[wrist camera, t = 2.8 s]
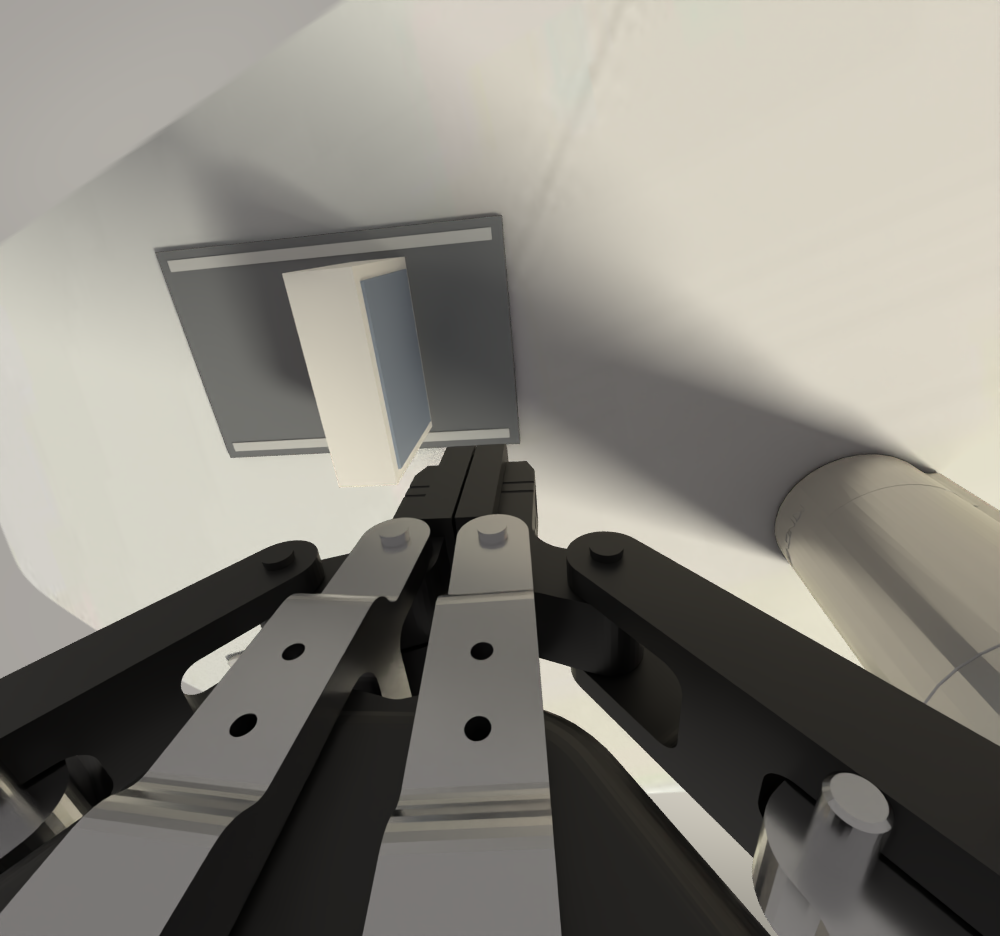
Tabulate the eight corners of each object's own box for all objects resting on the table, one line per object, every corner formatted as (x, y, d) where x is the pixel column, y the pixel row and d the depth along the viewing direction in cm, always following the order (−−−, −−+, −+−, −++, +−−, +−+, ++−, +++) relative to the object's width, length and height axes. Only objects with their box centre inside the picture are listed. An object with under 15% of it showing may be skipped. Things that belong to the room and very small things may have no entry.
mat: (501, 215, 26) (500, 215, 25) (520, 441, 31) (519, 444, 31) (160, 252, 28) (154, 252, 28) (234, 455, 34) (229, 458, 33)
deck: (407, 256, 27) (355, 266, 20) (434, 426, 31) (399, 485, 24) (349, 262, 27) (278, 274, 20) (384, 428, 31) (336, 487, 24)
